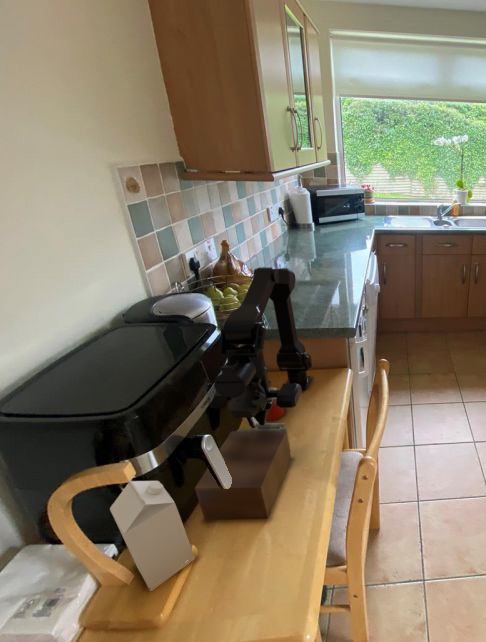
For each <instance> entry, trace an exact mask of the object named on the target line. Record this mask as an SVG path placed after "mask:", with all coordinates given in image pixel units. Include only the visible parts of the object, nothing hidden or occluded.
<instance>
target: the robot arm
mask: <svg viewBox="0 0 486 642" xmlns="http://www.w3.org/2000/svg"><path fill="white" fill-rule="evenodd" d="M252 276H253V277H252V279H251V282H250V284H249V286H248V289H247V291H246V293H245V295H244V297H243V300H242V302H241V304H240V306H239V307H237V308H236V309H234V310H232V311H231V312H230V313H229V314H228V315H227V317H226V319H225V320H224V322H223V324H222V325H221V328H220V337H219V346H218V358H226V361H227V362H226V363H225V364H223V365H222V366H221V368H220V370H221V371H220V372H219V373H218V375H217V376H216V377H215V379H214V384H213V387H214V389H215V391H216V393H215V395H214V398H213V401H212V403H211V405H210V408H211V409H225V408H226V407H227V406H228V407H227V409H228V411H229V413H230V414H231V416H232V417H233V418H234V419H240V418H241V419H242V418H243V419H244V418H247V419H253V418H254V420H255V422H257V423H259V424H260V425H264V424H265V423H267V420H268V419H267V415H268V411H269V409H271V408H272V406H273V404H274V402H275V400H276V404H277V406H279V407H280V408H283V409H292V408H295V407H296V406H297V404H298V402H299V400H300V398H301V395H302V394H303V391H302V390H306V389H307V388H308V386H309V383H310V381H311V379H312V376H311V375H308V373H307V371H308V372H309V370H310V369H311V368H313V364H312V356H311V355H310V354H309V353H308V352H307V351H306V346H305V344H303V342H301V341H300V340H299V339H298V333H297V329H296V322H295V316H294V311H293V304H292V298H291V296H292V294H293V291H294V289H295V287H296V281H297V280H296V273H295V272H294V271H293V270H292V269H291V268H290V267H270V266H269V267H265V266H263V267H262V266H261V267H257V268H254V270H253V275H252ZM269 300H271V301H272V306H273V310H274V315H275V320H276V325H277V331H278V336H279V340H280V347H279V349H278V351H277V354H276V365H277V367H278V370H279V372H286V376H287V383H283V384H282V385H281V387H280V389H277V388H276V387H271V386H272V381H271V380H269V378H268V372H269V365H266V362H265V356H264V351H263V350H264V346H265V340H266V333H267V329H266V324H265V322H264V319H263V317H264V313H265V311H266V308H267V305H268V303H269ZM229 345H238V346H229ZM228 400H230V401H228Z"/></svg>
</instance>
